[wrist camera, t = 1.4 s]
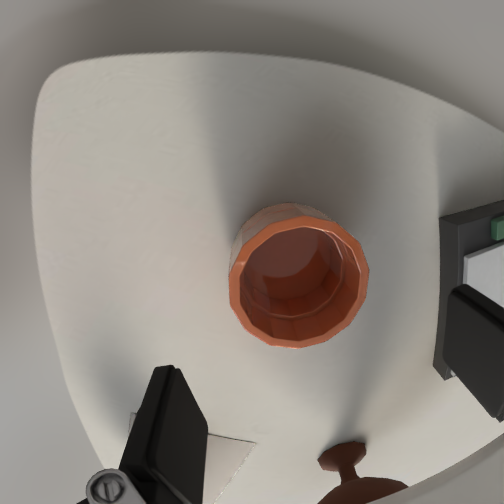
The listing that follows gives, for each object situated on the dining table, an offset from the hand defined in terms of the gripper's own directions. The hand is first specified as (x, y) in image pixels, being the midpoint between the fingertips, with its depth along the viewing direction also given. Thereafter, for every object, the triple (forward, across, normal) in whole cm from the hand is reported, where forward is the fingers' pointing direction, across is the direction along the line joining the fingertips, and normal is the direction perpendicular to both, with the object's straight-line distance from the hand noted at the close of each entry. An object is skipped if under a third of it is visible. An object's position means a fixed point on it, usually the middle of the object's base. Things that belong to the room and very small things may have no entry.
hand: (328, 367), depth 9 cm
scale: (+10, -18, +7) cm, 22 cm away
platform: (+11, +16, +22) cm, 29 cm away
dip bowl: (+10, 0, 0) cm, 11 cm away
